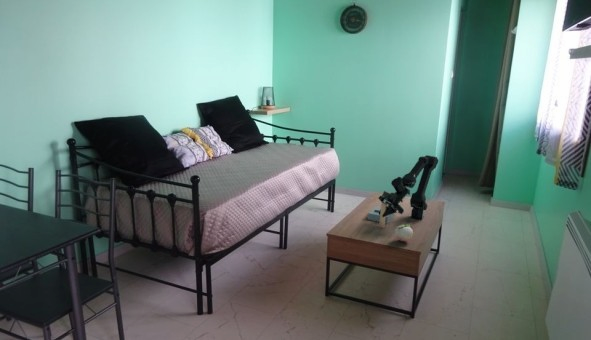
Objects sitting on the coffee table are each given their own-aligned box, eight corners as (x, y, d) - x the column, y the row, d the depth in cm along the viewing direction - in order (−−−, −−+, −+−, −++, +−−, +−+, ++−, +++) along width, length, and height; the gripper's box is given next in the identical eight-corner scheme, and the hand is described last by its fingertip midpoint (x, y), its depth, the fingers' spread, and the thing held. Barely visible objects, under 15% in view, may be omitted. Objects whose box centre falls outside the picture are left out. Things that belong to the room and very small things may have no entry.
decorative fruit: (403, 246, 206) (405, 228, 204) (391, 240, 213) (393, 223, 210) (415, 242, 212) (417, 224, 210) (403, 237, 218) (405, 219, 216)
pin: (385, 226, 232) (387, 203, 229) (383, 228, 230) (385, 204, 226) (380, 225, 234) (382, 202, 230) (378, 227, 231) (380, 203, 228)
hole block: (394, 215, 251) (395, 209, 250) (387, 223, 237) (387, 217, 236) (375, 211, 256) (376, 205, 255) (367, 219, 243) (368, 213, 242)
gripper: (382, 182, 236) (364, 201, 235) (401, 191, 219) (382, 212, 218) (392, 194, 241) (375, 213, 239) (411, 203, 224) (393, 224, 222)
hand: (380, 215), depth 230 cm, fingers open, 3 cm apart
